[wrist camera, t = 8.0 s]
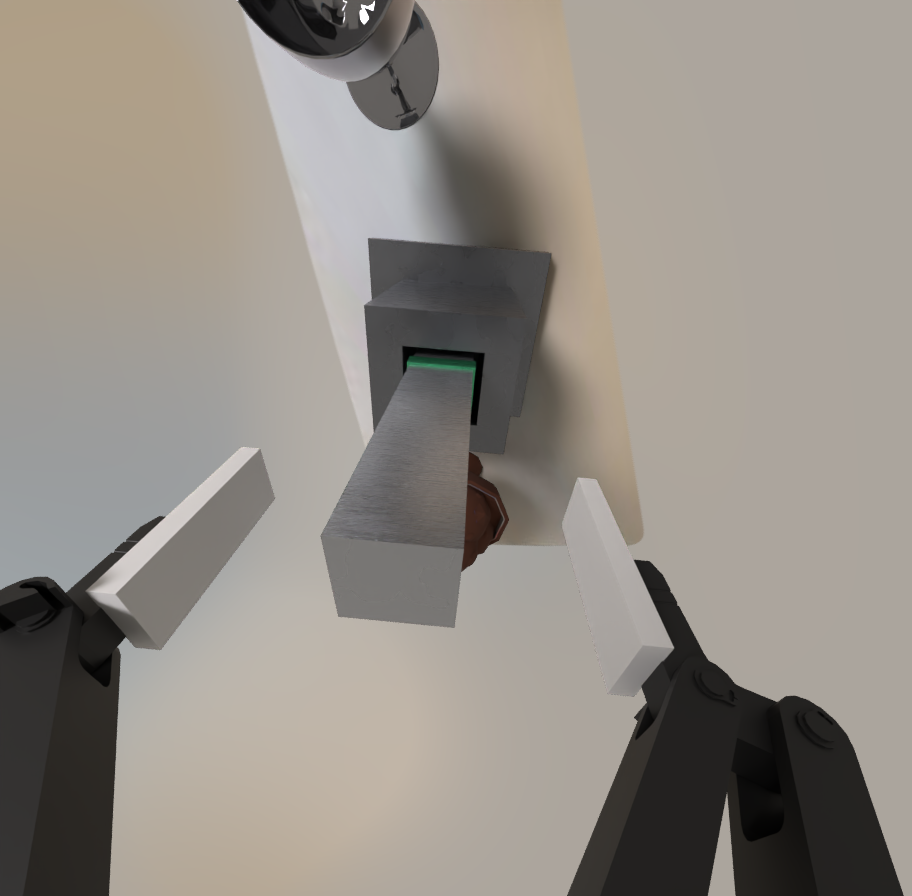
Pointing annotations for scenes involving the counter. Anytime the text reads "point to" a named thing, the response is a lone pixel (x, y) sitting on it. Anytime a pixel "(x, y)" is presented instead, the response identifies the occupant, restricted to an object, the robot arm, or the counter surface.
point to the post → (408, 501)
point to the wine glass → (360, 50)
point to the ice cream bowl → (481, 514)
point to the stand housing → (456, 322)
